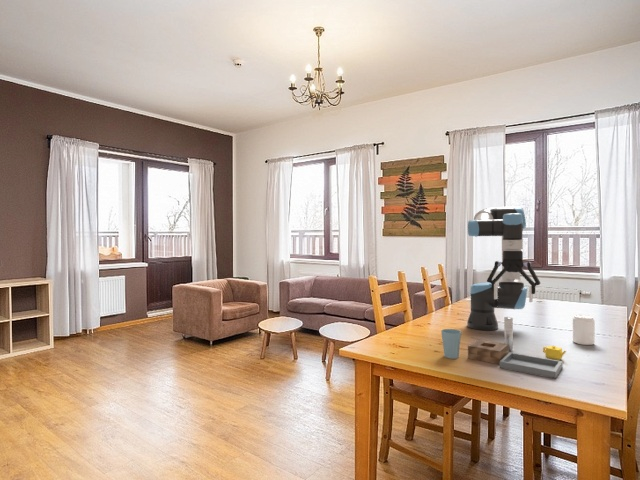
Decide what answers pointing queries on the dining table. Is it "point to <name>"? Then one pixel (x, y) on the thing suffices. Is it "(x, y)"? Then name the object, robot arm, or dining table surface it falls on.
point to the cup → (451, 342)
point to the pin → (508, 332)
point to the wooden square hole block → (488, 351)
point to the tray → (532, 365)
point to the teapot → (553, 352)
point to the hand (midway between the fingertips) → (512, 300)
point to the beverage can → (583, 329)
